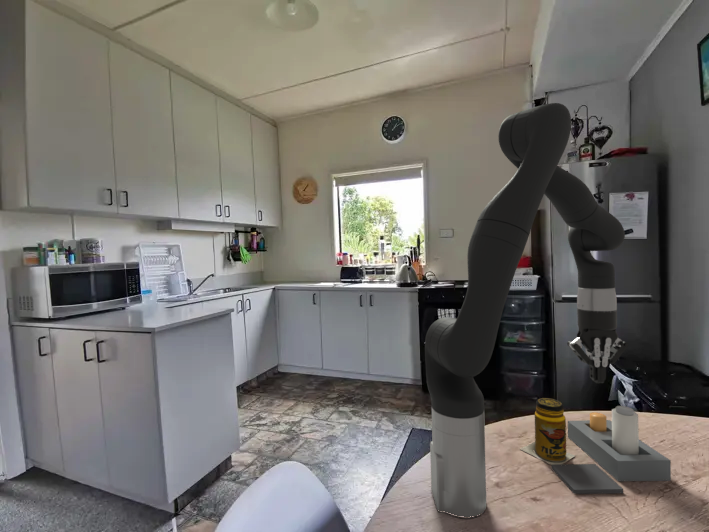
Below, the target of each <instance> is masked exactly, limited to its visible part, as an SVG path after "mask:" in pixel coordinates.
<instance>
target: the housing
mask: <svg viewBox="0 0 709 532" xmlns="http://www.w3.org/2000/svg"><path fill="white" fill-rule="evenodd" d="M606 421H607V432H595V431H593V430H592V429H591V428H590V419H589V420H567V438H568V439H570V441H572V442H573V443H574V444H576V446H577V447H578V448H579V449H581V450H582V451H583V452H584V453H585V454H587V456H589V457H590V458H591V459H592V460H593V461H594V462H596V463H597V464H598V465H599V467H601V468H603V469H604V471H606V472H607V473H608V474H609V475H610V476H612V477H613V478H614V479H615V481H616V482H658V481H659V482H661V481H662V482H663V481H665V482H667V481H668V482H669V481H672V479H671V478H672V476H671V475H672V473H671V472H672V471H671V469H672V468H671V467H672V465H671V461H672V460H671V459H670V458H668V457H666V456H665V455H664V454H662V453H660V452H658V450H656V449H654V448H653V447H651V446H650V445H648V444H647V443H645V442H644V441H642V440H641V439H639V455H620V454H619V453H618V452H616V451H615V450H614V449H612V420H610V419H606Z"/></svg>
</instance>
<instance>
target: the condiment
mask: <svg viewBox="0 0 709 532" xmlns="http://www.w3.org/2000/svg"><path fill="white" fill-rule="evenodd" d="M535 404H536V407H535V412H534V441H533V442H531V443H530V444H528V445H526V446H524V447H521V448H520V450H521V451H523V452H525V453H527V454H529V455H531V456H533V457H535V458H537V459H538V460H540V461H542V462H545V463H547V464H549V465H550V466H551V465H555V464H565V463H567V462H568V461H570V460H571V459H572V458H574V457H576V455H574V454H572V453H570V452H567V431H566V429H567V428H566V427H567V421H566V416H565V415H564V413H565V411H564V404H563V403H562V402H561V401H559V400H557V399H554V398H550V397H542V398H538V399H537V400H536V402H535Z"/></svg>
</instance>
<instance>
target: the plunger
mask: <svg viewBox="0 0 709 532" xmlns="http://www.w3.org/2000/svg"><path fill="white" fill-rule="evenodd" d="M589 420H590V428H591V429H592V430H593V431H595V432H607V421H606V420H607V416H606V415H605V414H603V413H600V412H595V411H594V412H590V413H589Z"/></svg>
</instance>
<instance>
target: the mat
mask: <svg viewBox="0 0 709 532" xmlns="http://www.w3.org/2000/svg"><path fill="white" fill-rule="evenodd" d="M550 467H551V470H552V471H553V472H554V473H555V474H556V475H557V477H558V478H559V479H560V480H561V481H562V482H563V483H564V484H565V486H567V488H568V489H569V491H571V492H572V493H573V494H574V495H590V494H591V495H592V494H593V495H597V494H600V495H601V494H604V495H605V494H624V488H623V487H622V486H621V485H619V483H617V481H616V480H614V479H613V478H612V477H611V476H609V475H608V474H607V473H606V472H605V470H603V469H601V468H600V466H598V465H597V464H596V463H575V464H574V463H571V464H570V463H569V464H568V463H567V464H565V463H564V464H555V465H551V464H550Z"/></svg>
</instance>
